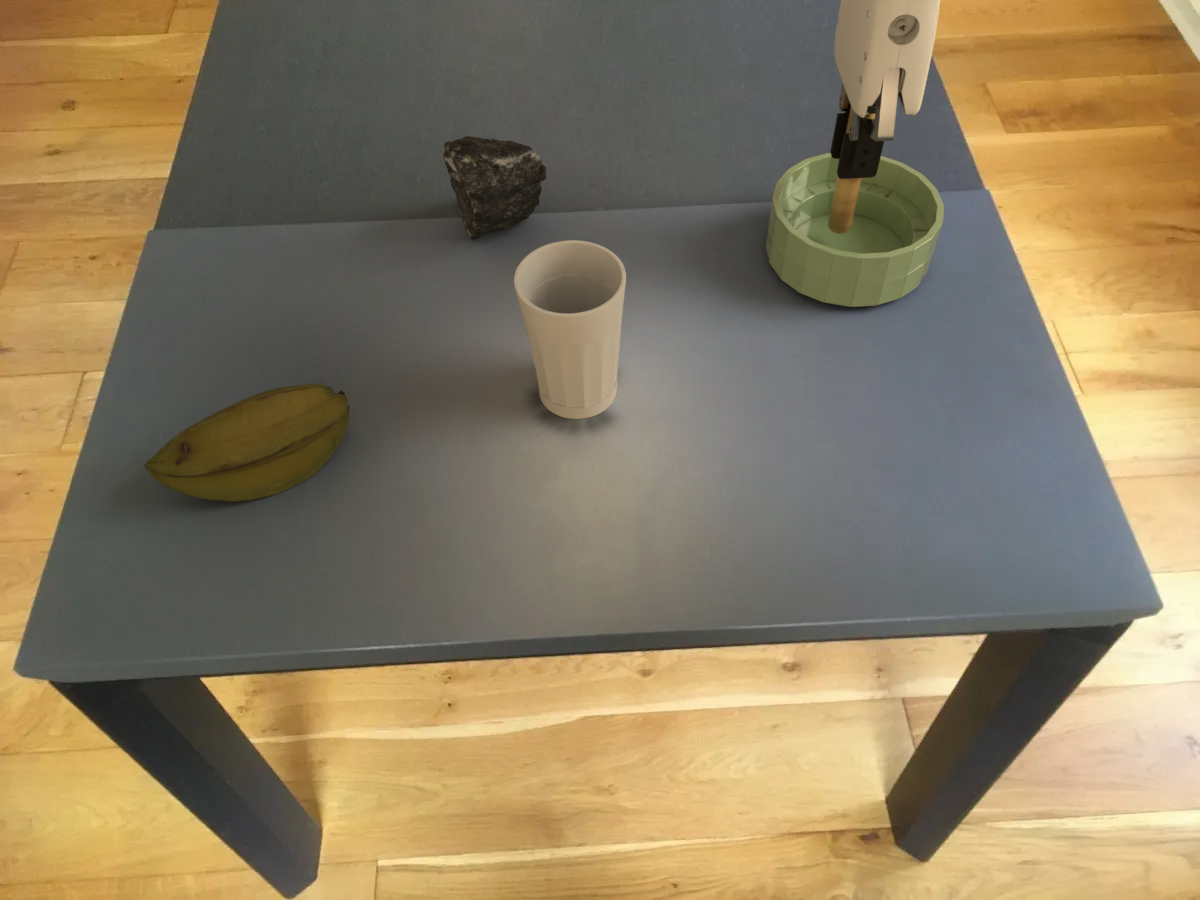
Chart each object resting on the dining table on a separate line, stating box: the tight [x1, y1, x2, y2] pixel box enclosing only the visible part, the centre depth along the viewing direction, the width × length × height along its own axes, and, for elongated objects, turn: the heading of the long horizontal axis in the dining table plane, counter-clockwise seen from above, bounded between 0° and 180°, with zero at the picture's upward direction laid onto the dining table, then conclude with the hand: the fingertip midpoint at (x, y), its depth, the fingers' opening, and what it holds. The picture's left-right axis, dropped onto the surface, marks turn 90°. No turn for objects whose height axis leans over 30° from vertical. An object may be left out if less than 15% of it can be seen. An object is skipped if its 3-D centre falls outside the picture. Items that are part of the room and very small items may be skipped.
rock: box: [442, 135, 547, 241], centre depth 87 cm, size 8×7×10 cm
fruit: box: [143, 383, 350, 503], centre depth 72 cm, size 11×12×7 cm
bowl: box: [765, 152, 945, 308], centre depth 85 cm, size 14×14×6 cm
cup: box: [513, 239, 627, 420], centre depth 74 cm, size 8×8×12 cm
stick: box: [828, 106, 875, 234], centre depth 81 cm, size 2×2×12 cm
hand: (852, 164), depth 81 cm, fingers closed on stick, 2 cm apart
